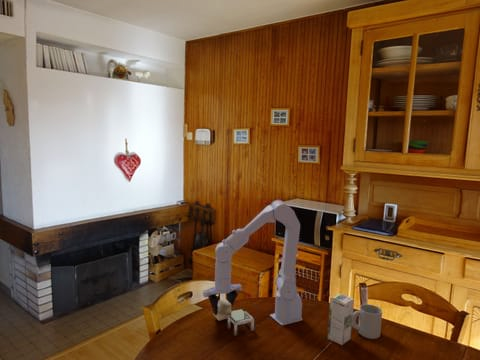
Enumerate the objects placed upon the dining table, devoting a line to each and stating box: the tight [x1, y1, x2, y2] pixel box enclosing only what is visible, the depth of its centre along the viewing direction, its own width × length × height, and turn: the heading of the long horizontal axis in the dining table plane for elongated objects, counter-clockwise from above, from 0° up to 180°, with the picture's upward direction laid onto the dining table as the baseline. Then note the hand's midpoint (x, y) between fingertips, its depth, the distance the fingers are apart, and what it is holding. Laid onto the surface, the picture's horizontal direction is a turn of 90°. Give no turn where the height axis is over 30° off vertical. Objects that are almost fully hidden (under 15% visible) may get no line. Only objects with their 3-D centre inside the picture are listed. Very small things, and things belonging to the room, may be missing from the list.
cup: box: [352, 303, 383, 340], centre depth 121 cm, size 7×10×9 cm
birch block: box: [212, 298, 233, 321], centre depth 128 cm, size 5×5×5 cm
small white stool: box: [227, 311, 255, 336], centre depth 122 cm, size 8×6×4 cm
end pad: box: [231, 308, 249, 322], centre depth 131 cm, size 7×7×1 cm
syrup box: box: [326, 293, 355, 346], centre depth 117 cm, size 6×6×14 cm
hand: (222, 312), depth 128 cm, fingers closed on birch block, 5 cm apart
